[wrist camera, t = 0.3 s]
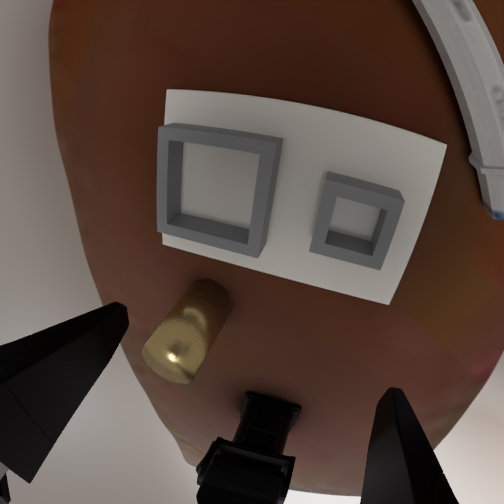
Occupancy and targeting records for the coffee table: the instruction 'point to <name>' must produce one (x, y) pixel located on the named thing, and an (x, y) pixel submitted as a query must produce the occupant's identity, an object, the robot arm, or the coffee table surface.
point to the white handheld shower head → (473, 87)
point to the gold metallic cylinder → (188, 332)
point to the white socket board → (293, 189)
